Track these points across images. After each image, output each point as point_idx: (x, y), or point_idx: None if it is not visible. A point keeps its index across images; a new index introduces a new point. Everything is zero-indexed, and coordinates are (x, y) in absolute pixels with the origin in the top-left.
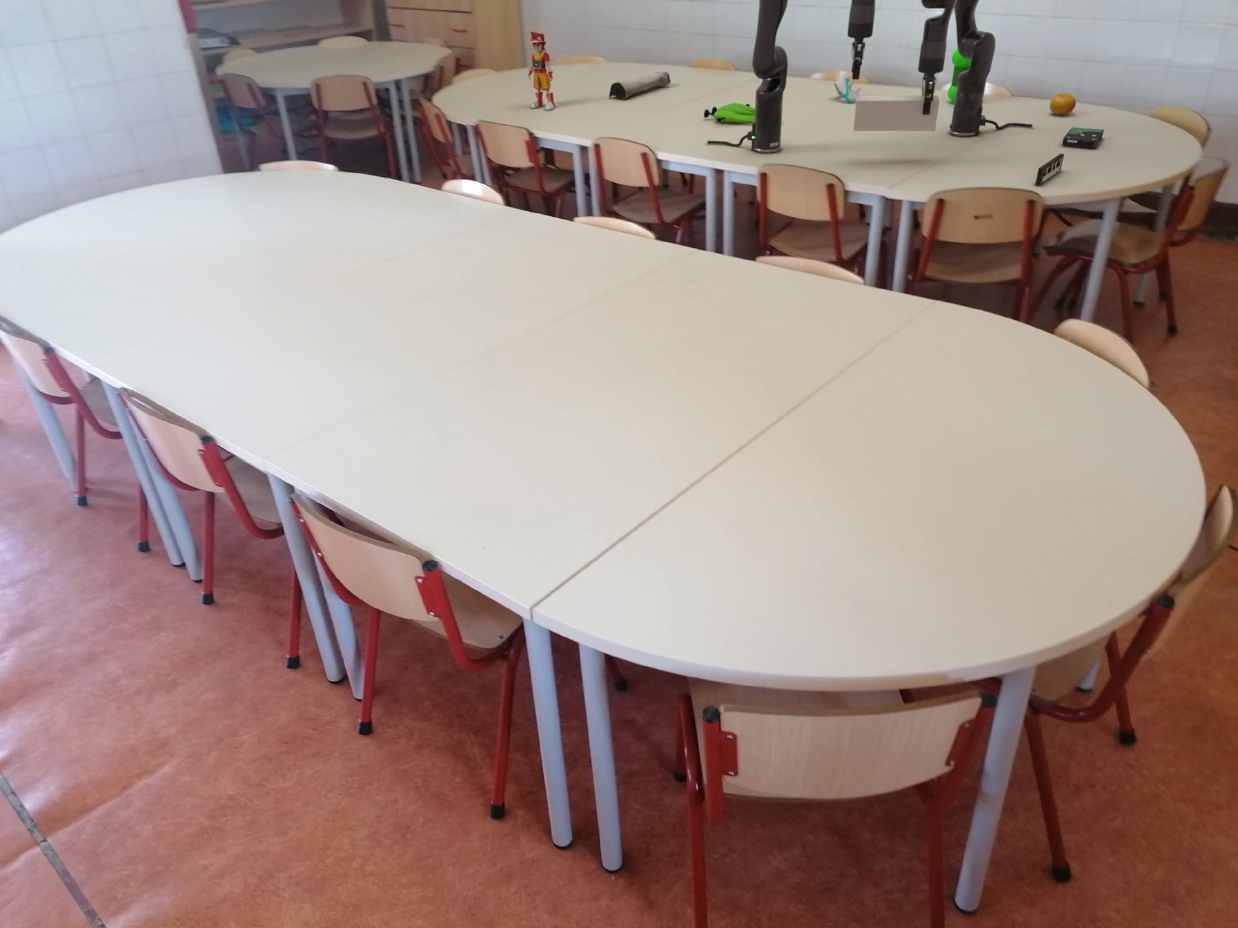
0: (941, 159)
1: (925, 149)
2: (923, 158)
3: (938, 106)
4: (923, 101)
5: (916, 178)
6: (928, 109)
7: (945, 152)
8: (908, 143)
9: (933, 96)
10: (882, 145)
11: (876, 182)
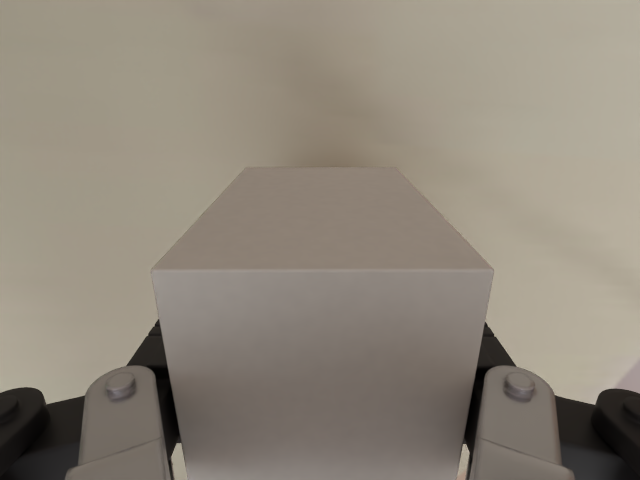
0: (273, 69)
1: (102, 142)
2: (262, 161)
3: (454, 233)
4: (453, 454)
5: (573, 211)
6: (487, 335)
7: (137, 35)
8: (16, 217)
9: (219, 341)
10: (81, 323)
11: (593, 355)
